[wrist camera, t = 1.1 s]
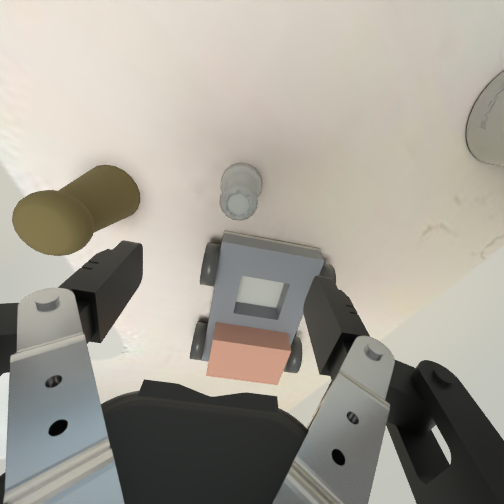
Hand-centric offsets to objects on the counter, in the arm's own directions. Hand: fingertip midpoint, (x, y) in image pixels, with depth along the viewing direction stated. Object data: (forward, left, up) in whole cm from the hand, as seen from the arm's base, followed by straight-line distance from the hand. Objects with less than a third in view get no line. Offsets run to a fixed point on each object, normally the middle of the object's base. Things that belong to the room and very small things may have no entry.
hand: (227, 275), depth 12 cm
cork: (+14, +4, -18) cm, 23 cm away
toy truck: (-5, +16, -18) cm, 25 cm away
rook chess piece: (0, 0, -18) cm, 18 cm away
